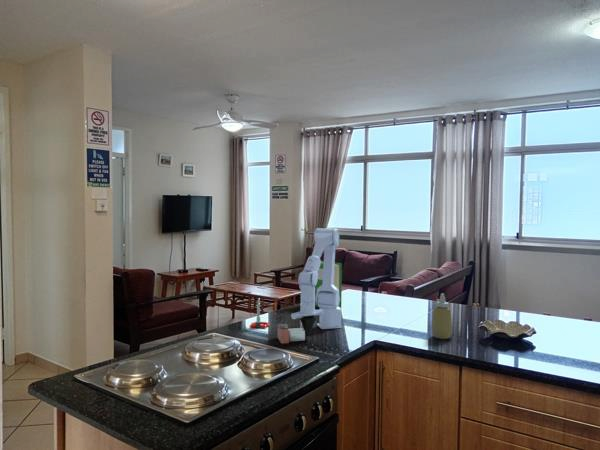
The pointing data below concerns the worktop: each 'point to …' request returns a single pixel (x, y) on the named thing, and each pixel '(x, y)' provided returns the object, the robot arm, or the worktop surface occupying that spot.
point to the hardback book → (336, 279)
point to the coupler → (283, 333)
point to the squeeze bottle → (442, 319)
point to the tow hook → (258, 323)
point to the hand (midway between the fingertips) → (307, 334)
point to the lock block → (297, 334)
